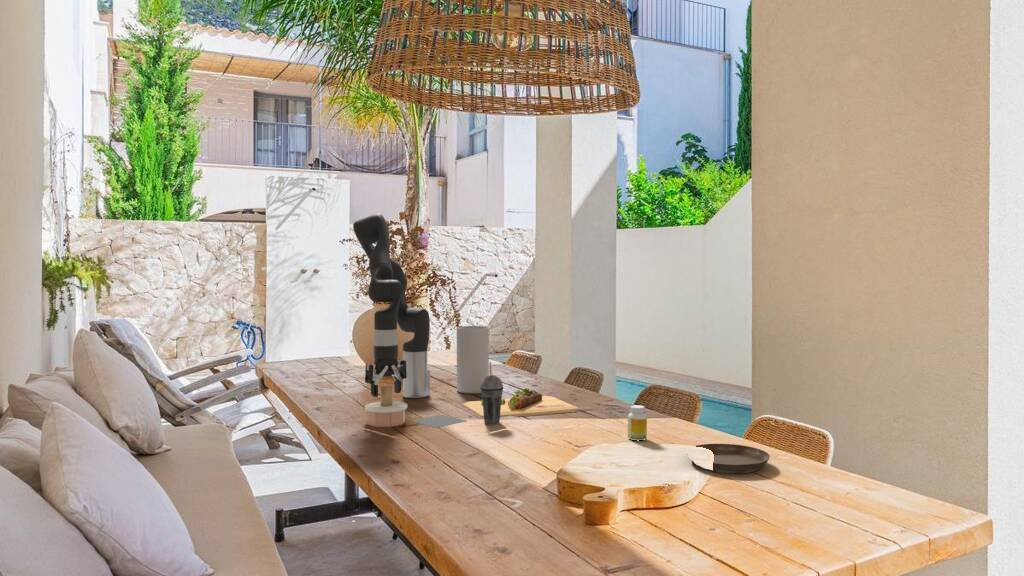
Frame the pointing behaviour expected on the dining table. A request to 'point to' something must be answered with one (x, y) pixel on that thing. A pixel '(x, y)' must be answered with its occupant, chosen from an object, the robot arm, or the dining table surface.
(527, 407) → the cutting board
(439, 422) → the mat
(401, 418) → the bowl
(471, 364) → the cylinder vase
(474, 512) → the dining table surface
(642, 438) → the supplement bottle
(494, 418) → the beverage cup
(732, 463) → the plant saucer
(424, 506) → the dining table surface
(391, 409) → the lid
